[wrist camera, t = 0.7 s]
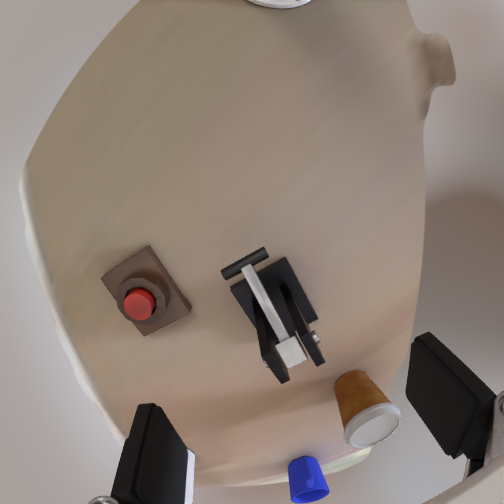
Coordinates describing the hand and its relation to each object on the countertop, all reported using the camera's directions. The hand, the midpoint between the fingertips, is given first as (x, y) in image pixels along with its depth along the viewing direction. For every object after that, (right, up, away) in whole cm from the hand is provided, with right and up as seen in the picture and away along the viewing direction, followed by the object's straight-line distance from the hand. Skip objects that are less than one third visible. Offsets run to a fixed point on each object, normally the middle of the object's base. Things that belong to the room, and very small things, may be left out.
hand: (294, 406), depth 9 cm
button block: (-15, 0, +28) cm, 32 cm away
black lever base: (+2, -1, +30) cm, 30 cm away
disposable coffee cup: (+16, -17, +36) cm, 43 cm away
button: (-15, -1, +25) cm, 29 cm away
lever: (0, -1, +21) cm, 21 cm away
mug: (+10, -40, +43) cm, 60 cm away
